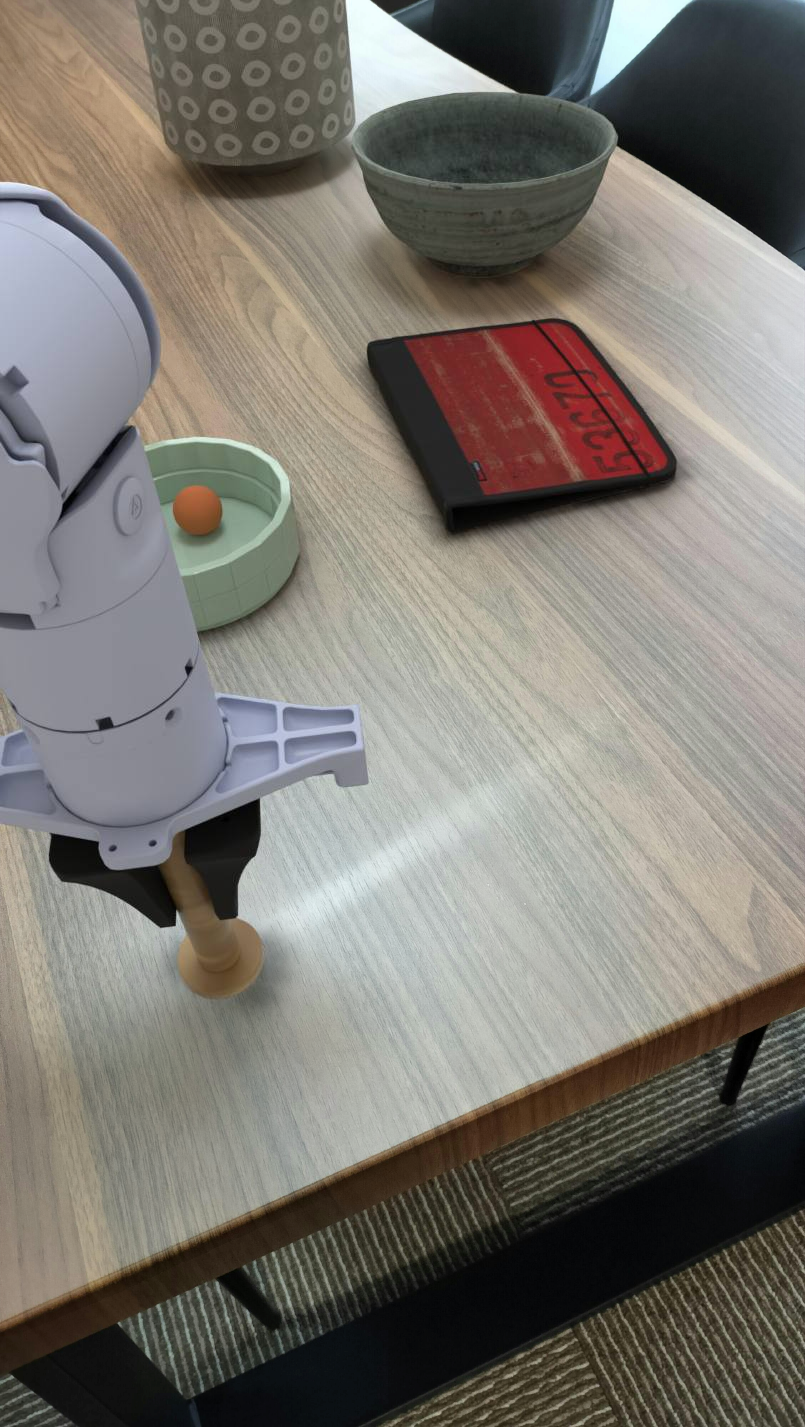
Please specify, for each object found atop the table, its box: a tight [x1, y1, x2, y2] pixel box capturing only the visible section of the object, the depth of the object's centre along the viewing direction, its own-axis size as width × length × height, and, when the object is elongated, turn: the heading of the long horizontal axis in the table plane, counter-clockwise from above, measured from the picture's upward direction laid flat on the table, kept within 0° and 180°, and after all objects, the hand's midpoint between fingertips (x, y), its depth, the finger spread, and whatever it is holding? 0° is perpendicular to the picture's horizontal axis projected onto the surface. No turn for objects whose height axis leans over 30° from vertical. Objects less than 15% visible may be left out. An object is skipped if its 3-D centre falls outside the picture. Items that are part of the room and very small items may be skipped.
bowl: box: [351, 91, 619, 279], centre depth 84 cm, size 21×21×10 cm
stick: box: [158, 830, 265, 1000], centre depth 40 cm, size 4×4×11 cm
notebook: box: [366, 317, 678, 534], centre depth 70 cm, size 16×2×21 cm
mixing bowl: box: [143, 436, 301, 632], centre depth 61 cm, size 13×13×4 cm
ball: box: [173, 485, 223, 535], centre depth 63 cm, size 3×3×3 cm
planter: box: [134, 0, 356, 177], centre depth 97 cm, size 19×19×18 cm
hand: (198, 901), depth 40 cm, fingers closed on stick, 2 cm apart
